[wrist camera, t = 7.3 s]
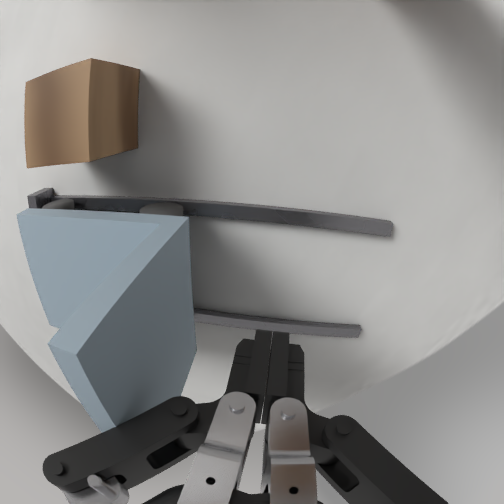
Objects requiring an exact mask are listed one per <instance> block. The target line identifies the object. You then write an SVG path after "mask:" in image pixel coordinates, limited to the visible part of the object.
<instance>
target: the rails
mask: <svg viewBox="0 0 504 504" xmlns="http://www.w3.org/2000/svg"><path fill="white" fill-rule="evenodd" d="M27 197H28V203H29V208H33V209H42V207H43V206H44V205H46V204H48V203H50V202H53V201H56V200H61V199H72V200H74V208H76V209H99V210H119V211H136V212H140V209H141V208H142V207H144V206H146V205H149V204H154V203H161V202H170V203H177V204H180V205H182V206H183V215H194V216H207V217H219V218H230V219H241V220H252V221H262V222H272V223H282V224H292V225H301V226H310V227H319V228H328V229H336V230H344V231H352V232H360V233H368V234H376V235H383V236H390V235H391V231H392V227H393V223H392V222H391V221H387V220H380V219H374V218H367V217H359V216H352V215H345V214H337V213H329V212H321V211H312V210H303V209H294V208H285V207H275V206H265V205H254V204H243V203H231V202H218V201H204V200H189V199H171V198H151V197H125V196H67V195H62V196H53V189H52V188H44V189H42V190H39V191H37V192H35V193H33V194H31V195H29V196H27ZM193 311H194V321H195V322H202V323H208V324H215V325H222V326H230V327H237V328H245V329H254V330H256V329H261V330H270V331H272V332H273V331H280V332H289V333H294V334H306V335H319V336H336V337H356V338H358V337H359V334H360V331H361V327H360V325H350V324H334V323H320V322H307V321H295V320H285V319H274V318H265V317H256V316H247V315H239V314H231V313H223V312H216V311H208V310H201V309H195V308H193Z"/></svg>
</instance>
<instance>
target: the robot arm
mask: <svg viewBox="0 0 504 504" xmlns="http://www.w3.org/2000/svg"><path fill="white" fill-rule="evenodd" d="M271 338H272V344H271ZM270 347H271V351H270ZM269 356H270V357H269ZM267 373H268V374H267ZM266 381H267V382H266ZM265 389H266V390H265ZM264 397H265V398H264ZM263 403H264V406H263ZM262 408H263V414H262ZM261 414H262V421H261V424H266V429H265V436H264V442H263V469H262V482H261V493H260V494H247V493H244V492H241V491H239V490H238V488H239V484H240V480H241V476H242V472H243V468H244V464H245V461H246V457H247V453H248V449H249V446H250V442H251V438H252V437H253V434H254V428H255V423H260V420H261ZM196 451H197V454H196V456H195V459H194V461H193V464H192V466H191V469H190V472H189V474H188V477H187V479H186V482H185V484H183V485H179V486H175V487H172V488H170V489H167V490H165V491H163V492H162V493H160V494H159V495H157V496H155V497H153V498H152V499H150V500H148V501H147V502H145V503H143V504H323V503H322V502H320V501H318V500H317V485H316V469H317V471H319V473H320V474H321V475H322V476H323V477H324V478H325V479H326V480H327V481H328V482H329V483H330V484H331V486H332V487H333V488H334V489H335V490H336V491H337V492H338V493H339V494H340V495H341V496H342V497H343V498H344V499H345V500H346V501H347V502H348V503H349V504H448V502H447V501H445V500H444V499H443V498H442V497H440V496H439V495H438V494H437V493H436V492H434V491H433V490H432V489H431V488H430V487H428V486H427V485H426V484H425V483H424V482H423V481H421V480H420V479H419V478H418V477H417V476H416V475H415V474H413V473H412V472H411V471H410V470H409V469H408V468H406V467H405V466H404V465H403V464H402V463H401V462H400V461H399V460H397V459H396V458H395V457H394V456H393V455H392V454H391V453H390V452H388V450H386V449H385V448H384V447H383V446H382V445H381V444H380V443H379V442H378V441H377V440H376V439H375V438H374V437H372V436H371V435H370V434H369V433H368V432H367V431H366V430H365V429H364V428H363V427H362V426H361V425H360V424H359V423H358V422H357V421H356V420H354V419H353V418H351V417H349V416H345V415H338V416H335V417H333V418H331V419H328V418H325V417H322V416H319V415H317V414H315V413H313V412H312V411H310V410H309V409H308V407H307V406H306V404H305V401H304V352H303V350H302V349H301V347H300V345H296V344H289V332H280V331H273V337H272V331H270V330H261V329H256V334H255V340H250V339H243V340H242V341H241V342H240V343H239V344H238V345H237V348H236V352H235V357H234V360H233V364H232V368H231V372H230V376H229V381H228V385H227V389H226V392H225V394H224V395H223V396H222V397H221V398H220V399H218V400H216V401H214V402H210V403H201V404H195V402H194V401H192V400H191V399H189V398H187V397H183V396H176V397H172V398H170V399H168V400H166V401H164V402H162V403H161V404H159V405H157V406H155V407H153V408H151V409H149V410H147V411H145V412H144V413H142V414H140V415H138V416H136V417H134V418H132V419H130V420H128V421H126V422H124V423H122V424H120V425H118V426H116V427H113V428H111V429H109V430H107V431H105V432H103V433H101V434H99V435H96V436H94V437H92V438H90V439H88V440H85V441H83V442H80V443H78V444H76V445H73V446H71V447H69V448H66V449H64V450H61V451H59V452H56V453H54V454H51V455H49V456H48V457H47V458H46V459H45V461H44V463H43V473H44V475H45V477H46V478H47V480H48V481H49V482H51V483H52V484H54V485H55V486H57V487H58V488H59V489H60V490H62V491H63V493H64V494H65V496H66V498H67V500H68V502H69V504H127V503H128V500H129V493H128V489H130V488H132V487H134V486H136V485H138V484H140V483H142V482H144V481H146V480H148V479H150V478H152V477H153V476H155V475H157V474H159V473H161V472H163V471H164V470H166V469H168V468H170V467H171V466H173V465H175V464H176V463H178V462H180V461H181V460H183V459H185V458H187V457H188V456H189V455H191V454H193V453H194V452H196ZM315 468H316V469H315Z"/></svg>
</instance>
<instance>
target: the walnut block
mask: <svg viewBox="0 0 504 504" xmlns="http://www.w3.org/2000/svg"><path fill="white" fill-rule="evenodd" d="M139 74H140V69H136V68H132V67H129V66H124V65H120V64H116V63H112V62H107V61H102V60H97V59H92V58H91V59H87V60H84V61H81V62H78V63H74V64H71V65H68V66H66V67H63V68H60V69H57V70H55V71H52V72H49V73H47V74H44V75H42V76H39V77H37V78H35V79H32V80H30V81H28V82H26V87H25V150H26V163H27V168H34V167H42V166H50V165H60V164H70V163H82V162H91V161H94V160H97V159H100V158H104V157H107V156H110V155H114V154H117V153H121V152H125V151H128V150H132V149H136V148H138V93H139Z"/></svg>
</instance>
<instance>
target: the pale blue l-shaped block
mask: <svg viewBox="0 0 504 504" xmlns="http://www.w3.org/2000/svg"><path fill="white" fill-rule="evenodd" d="M17 219H18V224H19V229H20V233H21V237H22V242H23V246H24V250H25V253H26V257H27V261H28V264H29V267H30V271H31V274H32V277H33V280H34V283H35V286H36V289H37V292H38V295H39V298H40V301H41V303H42V306H43V309H44V311H45V314H46V316H47V319H48V321H49V324H50V325H51V326H54V327H57V328H60V329H59V330H58V332H57V333H56V334H55V335H54V336H53V338H52V339H51V340H50V341H49V342H48V345H49V347H50V349H51V351H52V353H53V355H54V357H55V359H56V361H57V363H58V365H59V367H60V368H61V370H62V372H63V374H64V376H65V377H66V379H67V381H68V383H69V384H70V386H71V388H72V389H73V391H74V393H75V394H76V396H77V397H78V399H79V400H80V402H81V404H82V405H83V407H84V408H85V409H86V411H87V412H88V414H89V416H90V417H91V418H92V420H93V421H94V422H95V424H96V425H97V427H98V428H99V429H100V431H101V432H102V433H103V432H105V431H107V430H109V429H111V428H113V427H116V426H118V425H120V424H122V423H124V422H126V421H128V420H130V419H132V418H134V417H136V416H138V415H140V414H142V413H144V412H145V411H147V410H149V409H151V408H153V407H155V406H157V405H159V404H161V403H162V402H164V401H166V400H168V399H170V398H172V397H176V396H181V393H182V391H183V388H184V385H185V382H186V379H187V376H188V374H189V371H190V368H191V365H192V362H193V360H194V357H195V354H196V351H197V347H196V336H195V324H194V311H193V297H192V280H191V260H190V232H189V217H183V206H182V205H180V204H177V203H170V202H161V203H154V204H149V205H146V206H144V207H142V208H141V209H140V213H124V212H106V211H86V210H75V208H74V200H72V199H61V200H56V201H53V202H50V203H48V204H46V205H44V206H43V207H42V209H33V208H28V209H26V210H24V211H22V212H21V213H19V214H17Z"/></svg>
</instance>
